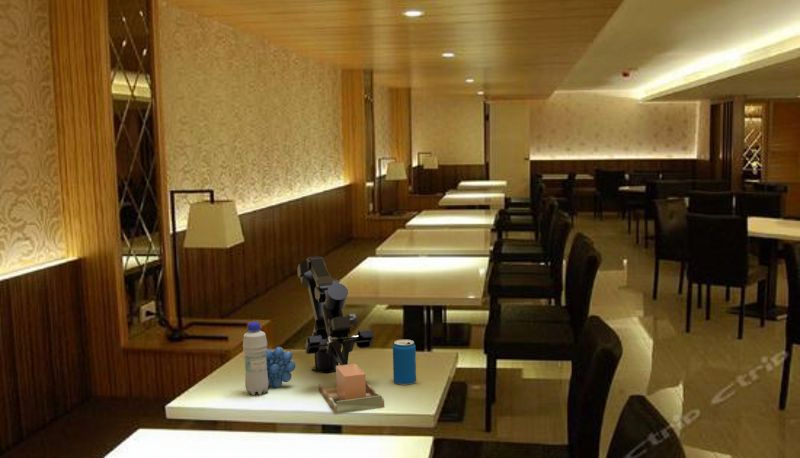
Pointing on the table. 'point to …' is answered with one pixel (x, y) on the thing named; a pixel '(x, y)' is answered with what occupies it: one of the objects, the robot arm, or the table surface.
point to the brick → (350, 382)
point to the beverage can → (404, 362)
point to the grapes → (279, 366)
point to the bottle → (255, 359)
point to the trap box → (352, 400)
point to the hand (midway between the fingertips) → (345, 368)
